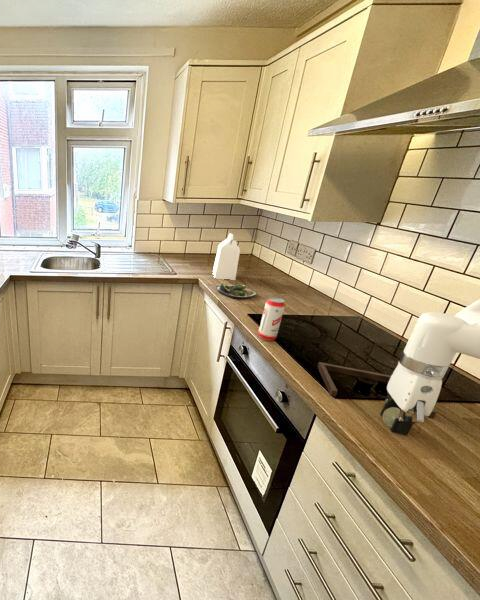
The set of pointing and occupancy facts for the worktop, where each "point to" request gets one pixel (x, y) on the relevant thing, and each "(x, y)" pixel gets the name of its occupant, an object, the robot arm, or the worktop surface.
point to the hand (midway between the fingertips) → (393, 424)
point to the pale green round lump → (391, 415)
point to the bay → (354, 372)
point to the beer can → (271, 318)
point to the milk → (226, 259)
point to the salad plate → (235, 291)
